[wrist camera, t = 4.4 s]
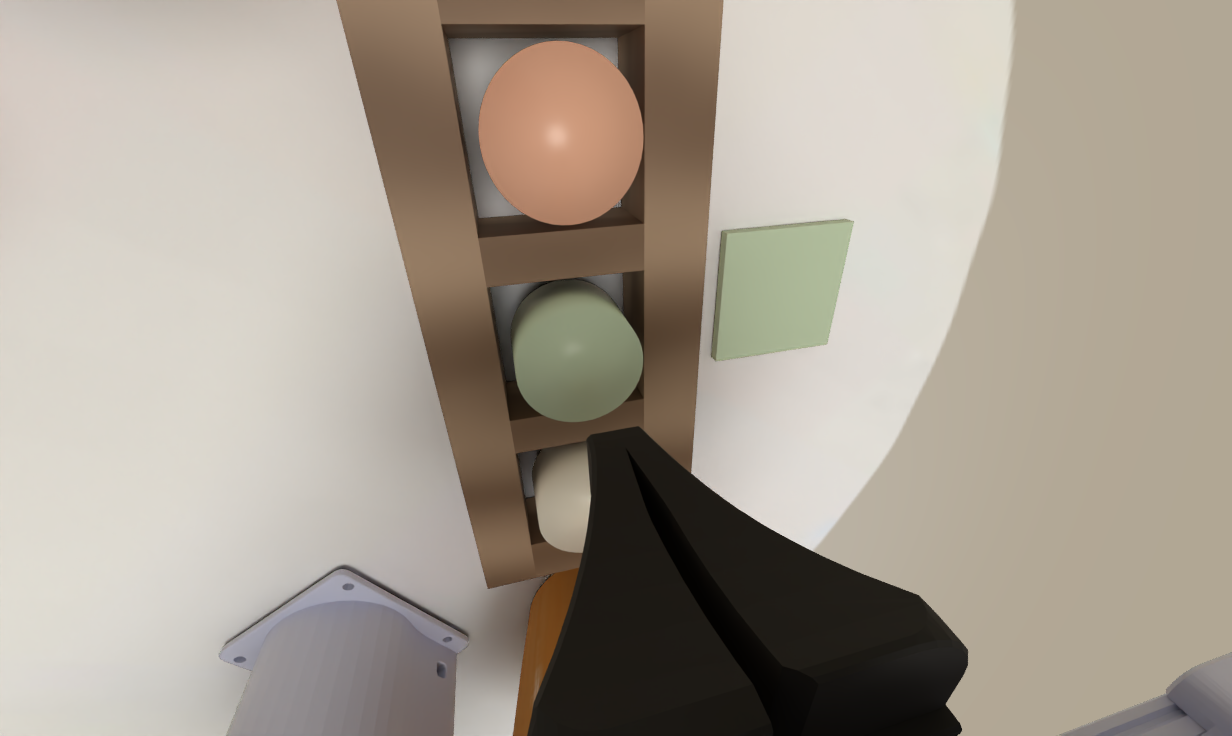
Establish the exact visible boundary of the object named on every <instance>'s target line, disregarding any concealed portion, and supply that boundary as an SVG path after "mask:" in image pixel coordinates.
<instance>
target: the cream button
mask: <svg viewBox="0 0 1232 736" xmlns="http://www.w3.org/2000/svg"><path fill="white" fill-rule="evenodd" d="M532 480H533V487H534V494H535V501H536V508H537V515H538V522H539V528H540V532H541V534H542V536H543V537H544V539H545V540H546V541H547V542H548V543H549V544H551V545H552V546H554V547H556V548H558V549H560V550H563V551H567V552H574V553H583V548H584V543H585V538H586V532H587V526H588V518H589V510H590V502H591V493H590V480H589V467H588V454H587V441H583V442H577V443H571V444H566V445H560V446H555V447H549V448H544V449H542V451H541V452H540V453H539V455H538V456H537V458H536V460H535V462H534V465H533V468H532Z"/></svg>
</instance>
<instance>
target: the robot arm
mask: <svg viewBox="0 0 1232 736" xmlns="http://www.w3.org/2000/svg"><path fill="white" fill-rule="evenodd" d="M586 441H587V454H588V467H589V480H590V493H591V502H590V510H589V518H588V526H587V532H586V538H585V543H584V548H583V553H582V558H581V562H580V567H579V571H578V575H577V579H576V583H575V586H574V590H573V594H572V597H571V601H570V604H569V608H568V611H567V614H566V617H565V620H564V623H563V626H562V629H561V632H560V635H559V638H558V641H557V644H556V647H555V650H554V652H553V655H552V658H551V660H550V663H549V665H548V668H547V670H546V673H545V675H544V678H543V680H542V683H541V685H540V688H539V690H538V693H537V695H536V698H535V701H534V704H533V709H532V715H531V720H530V724H529V729H528V733H527V736H957V735H958V734H960V733H961V731H962V728H961V725H960V723H959V722H958V721H957V719H956V718H955V716H954V715H953V714H952V713H951V711H950V710H949V709H948V707H947V706H946V705H945V704H946V702H947V701H948V699H949V697H950V696H951V694H952V692H953V691H954V689H955V688H956V686H957V685H958V683H959V681H960V680H961V678H962V677H963V675H964V673H965V670H966V668H967V666H968V650H967V648H966V647H965V646H964V644H963V643H962V642H961V641H960V640H959V639H958V637H957V636H956V635H955V634H954V633H953V632H952V631H951V629H950V628H949V627H948V626H947V625H946V624H945V623H944V622H943V620H942V619H941V618H940V617H939V616H938V615H937V614H936V613H935V612H934V610H932V608H931V607H930V606H929V605H928V604H927V603H926V602H925V601H924V600H923V599H922V598H921V597H920V596H919V595H917V594H913V593H911V592H909V591H906V590H903V589H901V588H898V587H895V586H893V585H890V584H887V583H885V582H882V581H879V580H877V579H874V578H871V577H869V576H866V575H864V574H861V573H859V572H856V571H854V570H852V569H850V568H848V567H845V566H843V565H841V564H838V563H836V562H834V561H832V560H830V559H827V558H825V557H823V556H821V555H819V554H817V553H815V552H813V551H811V550H809V549H807V548H805V547H803V546H801V545H799V544H797V543H795V542H793V541H791V540H790V539H788V538H786V537H784V536H782V535H780V534H778V533H776V532H775V531H773V530H771V529H769V528H768V527H766V526H764V525H763V524H761V523H759V522H758V521H756V520H755V519H753V518H751V517H750V516H748V515H747V514H745V513H744V512H742V511H740V510H739V509H737V508H736V507H734V506H733V505H732V504H730V503H729V502H727V501H726V500H725V499H723V498H722V497H720V496H719V495H718V494H716V493H715V492H714V491H712V490H711V489H710V488H708V487H707V486H706V485H705V484H703V483H702V482H701V481H700V480H698V479H697V478H696V477H695V476H694V475H692V474H691V473H690V472H689V471H688V470H686V469H685V468H684V467H683V466H682V465H681V464H679V463H678V462H677V461H676V460H675V459H674V458H673V457H671V456H670V455H669V454H668V453H667V452H666V451H665V450H664V449H663V448H662V447H661V446H660V445H658V444H657V443H656V442H655V441H654V440H653V439H652V438H651V437H650V436H649V435H648V434H647V433H646V432H645V431H644V430H643V429H642V428H640V427H639V426H636V427H630V428H624V429H619V430H613V431H607V432H602V433H596V434H591V435H590V436H589V437H588V438H587V439H586ZM349 583H350V584H349ZM468 641H469V639H468V637H467V636H466V635H464V634H462V633H460V632H459V631H457V630H455V629H453V628H451V627H450V626H448V625H446V624H444V623H442V622H441V621H439V620H437V619H435V618H433V617H432V616H430V615H428V614H426V613H424V612H423V611H421V610H419V609H417V608H415V607H414V606H412V605H410V604H408V603H406V602H405V601H403V600H401V599H399V598H397V597H396V596H394V595H392V594H390V593H388V592H387V591H385V590H383V589H381V588H379V587H378V586H376V585H374V584H372V583H370V582H369V581H367V580H365V579H363V578H361V577H360V576H358V575H356V574H354V573H352V572H351V571H349V570H346V569H340V570H336V571H334V572H332V573H331V574H330V575H328V576H327V577H325V578H324V579H322V580H321V581H319V582H318V583H316V584H315V585H313V586H312V587H310V588H309V589H307V590H306V591H304V592H303V593H301V594H300V595H298V596H297V597H295V598H294V599H293V600H291V601H290V602H288V603H287V604H285V605H284V606H282V607H281V608H279V609H278V610H276V611H275V612H273V613H272V614H270V615H269V616H267V617H266V618H264V619H263V620H261V621H260V622H259V623H257V624H256V625H254V626H253V627H251V628H250V629H248V630H247V631H245V632H244V633H242V634H241V635H239V636H238V637H236V638H235V639H233V640H232V641H230V642H229V643H227V644H226V645H224V646H223V647H222V649H221V651H220V653H219V657H220V659H221V660H223V661H225V662H228V663H231V664H234V665H236V666H239V667H242V668H245V669H247V670H250V671H252V672H251V675H250V677H249V680H248V682H247V685H246V687H245V690H244V692H243V695H242V697H241V700H240V702H239V705H238V707H237V710H236V712H235V715H234V717H233V720H232V722H231V725H230V727H229V730H228V732H227V735H226V736H454V712H455V688H456V664H457V653H459V652H460V651H462V650H464V649H465V648H466V647H467V646H468ZM1057 736H1232V652H1231V653H1229V654H1226V655H1223V656H1220V657H1218V658H1215V659H1212V660H1210V661H1207V662H1204V663H1202V664H1199V665H1197V666H1195V667H1193V668H1191V669H1190V670H1188V671H1186V672H1185V673H1183V674H1182V675H1181V676H1179V677H1178V678H1177V679H1176V680H1175V681H1174V682H1173V683H1172V684H1171V685H1170V686H1169V687H1168V688H1167V689H1166V694H1164V695H1161V696H1158V697H1156V698H1153V699H1151V700H1148V701H1146V702H1143V703H1140V704H1137V705H1135V706H1132V707H1130V708H1127V709H1125V710H1122V711H1119V712H1117V713H1114V714H1112V715H1109V716H1107V717H1104V718H1101V719H1099V720H1096V721H1094V722H1091V723H1088V724H1086V725H1083V726H1081V727H1078V728H1075V729H1073V730H1070V731H1068V732H1065V733H1063V734H1060V735H1057Z"/></svg>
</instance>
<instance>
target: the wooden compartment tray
mask: <svg viewBox="0 0 1232 736" xmlns="http://www.w3.org/2000/svg"><path fill="white" fill-rule="evenodd" d="M336 1H337V4H338V8H339V12H340V16H341V20H342V24H343V28H344V32H345V35H346V39H347V43H348V47H349V51H350V55H351V59H352V63H353V67H354V70H355V74H356V78H357V82H358V86H359V90H360V94H361V98H362V102H363V105H364V109H365V113H366V117H367V121H368V125H369V129H370V133H371V136H372V140H373V144H374V148H375V152H376V156H377V160H378V164H379V168H380V171H381V175H382V179H383V183H384V187H385V191H386V195H387V199H388V203H389V206H390V210H391V214H392V218H393V222H394V226H395V230H396V234H397V237H398V241H399V245H400V249H401V253H402V257H403V261H404V265H405V269H406V272H407V276H408V280H409V284H410V288H411V292H412V296H413V300H414V304H415V307H416V311H417V315H418V319H419V323H420V327H421V331H422V335H423V338H424V342H425V346H426V350H427V354H428V358H429V362H430V366H431V370H432V373H433V377H434V381H435V385H436V389H437V393H438V397H439V401H440V405H441V408H442V412H443V416H444V420H445V424H446V428H447V432H448V436H449V439H450V443H451V447H452V451H453V455H454V459H455V463H456V467H457V471H458V474H459V478H460V482H461V486H462V490H463V494H464V498H465V502H466V506H467V509H468V513H469V517H470V521H471V525H472V529H473V533H474V537H475V540H476V544H477V548H478V552H479V556H480V560H481V564H482V568H483V572H484V575H485V579H486V583H487V587H488V589H490V588H494V587H498V586H503V585H507V584H511V583H515V582H520V581H524V580H528V579H532V578H537V577H541V576H545V575H550V574H554V573H558V572H562V571H567V570H571V569H575V568H579V567H580V562H581V558H582V553H574V552H567V551H563V550H560V549H558V548H556V547H554V546H552V545H551V544H549V543H548V542H547V541H546V540H545V539H544V537H543V536H542V534H541V532H540V528H539V522H538V515H537V508H536V501H535V497H531V498H525V492H524V486H523V480H522V474H521V468H520V462H519V456H518V453H521V452H527V451H532V450H538V449H544V448H549V447H555V446H560V445H566V444H571V443H577V442H583V441H586V439H587V438H588V437H589V436H590V435H591V434H596V433H602V432H607V431H613V430H619V429H624V428H630V427H636V426H639V427H640V428H642V429H643V430H644V431H645V432H646V433H647V434H648V435H649V436H650V437H651V438H652V439H653V440H654V441H655V442H656V443H657V444H658V445H660V446H661V447H662V448H663V449H664V450H665V451H666V452H667V453H668V454H669V455H670V456H671V457H673V458H674V459H675V460H676V461H677V462H678V463H679V464H681V465H682V466H683V467H684V468H685V469H686V470H688V471H689V472H690V473H691V467H692V453H693V438H694V423H695V409H696V394H697V379H698V365H699V350H700V336H701V321H702V306H703V292H704V277H705V262H706V248H707V233H708V219H709V204H710V189H711V175H712V160H713V145H714V131H715V116H716V102H717V87H718V72H719V58H720V43H721V28H722V14H723V0H336ZM448 38H618V67H619V71H620V72H621V73H622V75H623V76H624V77H625V79H626V80H627V82H628V83H629V85H630V87H631V89H632V90H633V93H634V95H635V97H636V100H637V102H638V105H639V109H640V112H641V117H642V123H643V136H644V138H643V151H642V157H641V161H640V165H639V168H638V171H637V174H636V176H635V178H634V181H633V182H632V184H631V186H630V188H629V189H628V191H627V192H626V193H625V195H624V196H623V197H622V199H621V207H617V208H611V209H610V210H609V211H607V212H606V213H604V214H603V215H601V216H599V217H597V218H595V219H593V220H591V221H588V222H584V223H581V224H575V225H554V224H549V223H545V222H541V221H538V220H536V219H533V218H531V217H529V216H527V215H516V216H503V217H491V218H478V214H477V208H476V202H475V196H474V190H473V184H472V178H471V172H470V166H469V160H468V154H467V148H466V142H465V137H464V131H463V125H462V119H461V113H460V107H459V101H458V95H457V89H456V83H455V77H454V71H453V66H452V60H451V54H450V48H449V42H448ZM615 273H623V303H624V317H625V318H626V320H627V321H628V323H629V324H630V326H631V327H632V329H633V330H634V332H635V333H636V335H637V337H638V338H639V341H640V344H641V347H642V351H643V368H642V372H641V376H640V379H639V381H638V383H637V385H636V387H635V389H634V390H633V392H632V393H631V395H630V396H629V397H628V398H627V399H626V400H625V401H624V402H623V403H622V404H621V405H620V406H618V407H617V408H616V409H614V410H613V411H611V412H609V413H608V414H606V415H603V416H601V417H599V418H596V419H593V420H588V421H582V422H564V421H558V420H554V419H551V418H548V417H546V416H544V415H542V414H540V413H539V412H537V411H536V410H534V409H533V408H532V407H531V406H530V405H529V404H528V403H527V401H526V400H525V399H524V397H523V396H522V394H521V392H520V390H519V388H518V385H517V381H511V382H506V379H505V373H504V367H503V361H502V356H501V350H500V344H499V338H498V332H497V326H496V320H495V314H494V308H493V302H492V296H491V290H490V287H495V286H504V285H513V284H523V283H532V282H541V281H550V280H560V279H569V278H578V277H587V276H597V275H606V274H615Z"/></svg>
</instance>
